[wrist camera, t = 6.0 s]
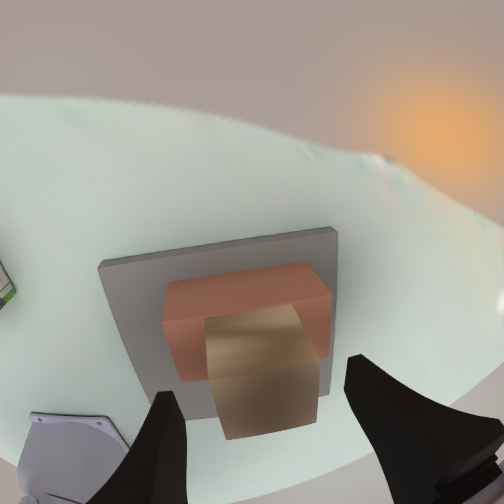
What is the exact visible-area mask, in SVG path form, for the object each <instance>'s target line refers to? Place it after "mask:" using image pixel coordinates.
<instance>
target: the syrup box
mask: <svg viewBox="0 0 504 504" xmlns="http://www.w3.org/2000/svg"><path fill="white" fill-rule="evenodd" d="M14 295H15V289H14V288H13V286H12V284H11V282H10V281H9V279H8V277H7V275H6V273H5V272H4V270H3V268H2V266H1V264H0V310H1V308H2V307H3V306H4V305H5V304H6V303H7V302H8V301H9V300H10V299H11V298H12V297H13V296H14Z"/></svg>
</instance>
